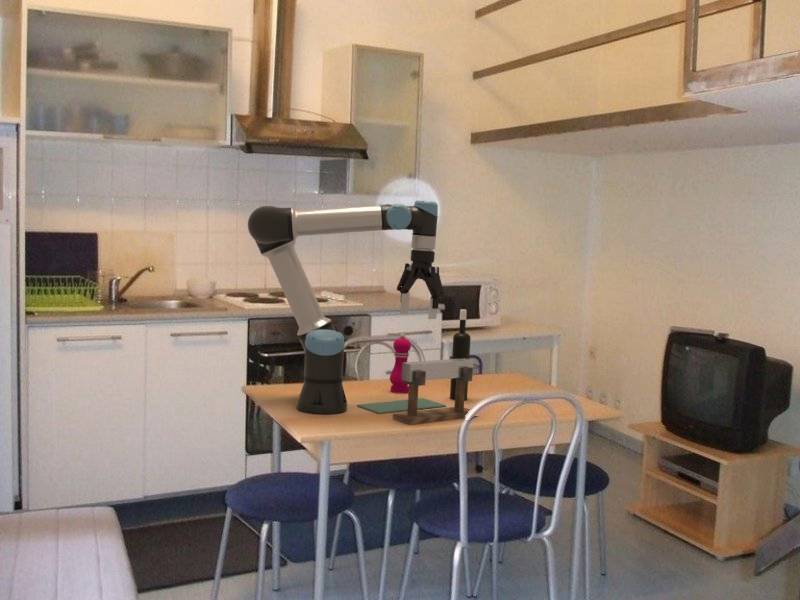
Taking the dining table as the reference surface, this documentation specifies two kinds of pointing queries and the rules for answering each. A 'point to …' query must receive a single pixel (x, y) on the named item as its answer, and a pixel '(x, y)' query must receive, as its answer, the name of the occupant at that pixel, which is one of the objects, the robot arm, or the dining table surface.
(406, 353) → the pepper mill
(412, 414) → the hook stand
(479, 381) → the dining table surface
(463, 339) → the wine bottle
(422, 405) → the mat
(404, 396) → the dining table surface
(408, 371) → the rail
